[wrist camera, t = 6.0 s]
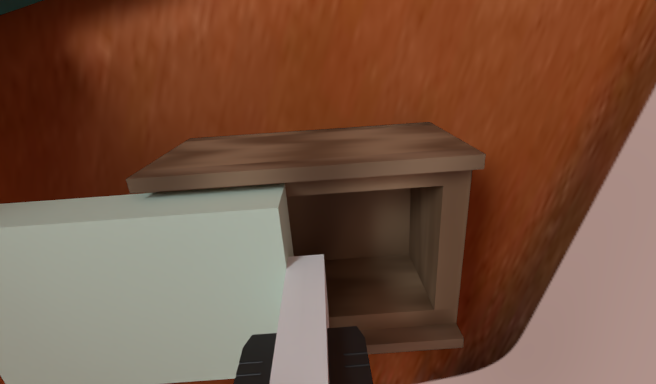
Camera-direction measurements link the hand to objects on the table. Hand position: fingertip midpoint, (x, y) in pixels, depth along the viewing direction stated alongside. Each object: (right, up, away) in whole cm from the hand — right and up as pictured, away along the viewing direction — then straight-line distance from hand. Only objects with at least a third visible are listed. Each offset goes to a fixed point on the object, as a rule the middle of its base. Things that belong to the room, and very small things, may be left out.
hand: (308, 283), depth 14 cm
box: (0, +3, +7) cm, 8 cm away
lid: (-7, 0, +2) cm, 7 cm away
